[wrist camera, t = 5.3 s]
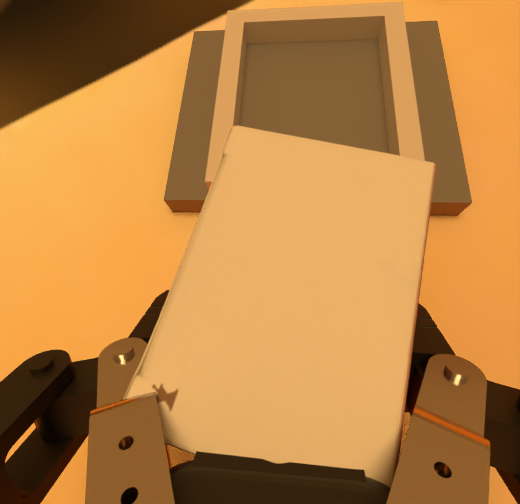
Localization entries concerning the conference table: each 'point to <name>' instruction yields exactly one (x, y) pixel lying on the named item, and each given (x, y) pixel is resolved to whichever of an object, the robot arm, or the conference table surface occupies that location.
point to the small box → (295, 306)
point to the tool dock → (319, 92)
